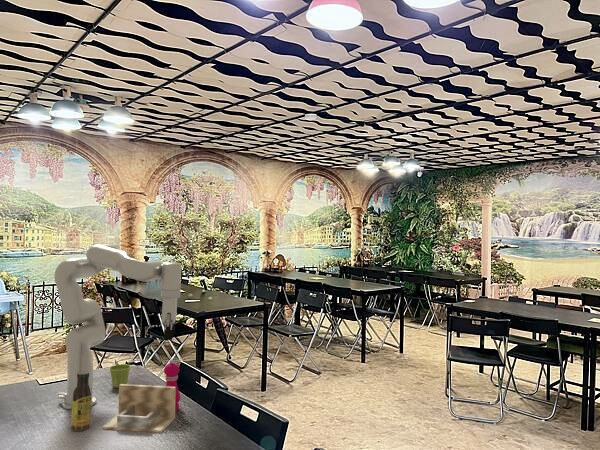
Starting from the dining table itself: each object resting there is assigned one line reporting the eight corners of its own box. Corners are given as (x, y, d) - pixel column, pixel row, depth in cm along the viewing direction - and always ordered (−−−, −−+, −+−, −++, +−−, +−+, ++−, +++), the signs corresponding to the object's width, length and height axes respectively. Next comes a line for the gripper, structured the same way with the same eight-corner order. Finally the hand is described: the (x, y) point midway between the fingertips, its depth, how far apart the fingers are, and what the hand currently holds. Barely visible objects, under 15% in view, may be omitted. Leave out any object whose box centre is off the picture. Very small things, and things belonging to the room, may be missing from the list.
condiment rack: (102, 429, 168) (103, 395, 168) (120, 415, 181) (120, 384, 181) (161, 432, 165) (162, 398, 166) (175, 418, 178) (175, 386, 179)
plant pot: (125, 389, 210) (126, 370, 210) (105, 389, 210) (105, 369, 210) (133, 382, 219) (134, 364, 220) (113, 382, 220) (114, 364, 220)
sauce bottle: (77, 433, 164) (78, 376, 164) (67, 429, 167) (68, 373, 167) (94, 427, 169) (95, 372, 170) (84, 423, 173) (85, 369, 173)
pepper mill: (175, 413, 183) (176, 362, 183) (158, 411, 184) (159, 361, 185) (183, 406, 190) (184, 357, 191) (166, 405, 192) (167, 356, 192)
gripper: (163, 291, 192) (161, 332, 192) (158, 296, 175) (156, 342, 175) (181, 291, 193) (180, 332, 193) (178, 296, 176) (177, 342, 176)
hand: (169, 337), depth 184 cm, fingers open, 9 cm apart
